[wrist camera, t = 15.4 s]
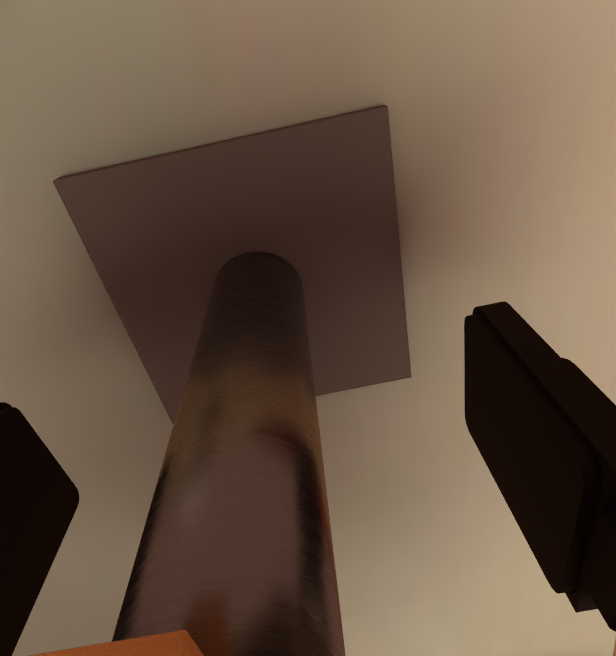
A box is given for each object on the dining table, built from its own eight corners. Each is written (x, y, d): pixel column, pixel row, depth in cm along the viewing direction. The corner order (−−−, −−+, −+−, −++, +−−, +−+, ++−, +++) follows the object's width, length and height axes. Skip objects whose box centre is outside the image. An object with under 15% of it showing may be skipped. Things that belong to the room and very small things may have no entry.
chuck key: (282, 195, 12) (312, 899, 2) (318, 356, 15) (406, 976, 5) (185, 216, 12) (-270, 981, 2) (240, 371, 15) (163, 1005, 5)
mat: (408, 370, 16) (411, 377, 16) (174, 416, 17) (172, 423, 16) (384, 105, 12) (387, 106, 11) (58, 177, 12) (52, 181, 12)
